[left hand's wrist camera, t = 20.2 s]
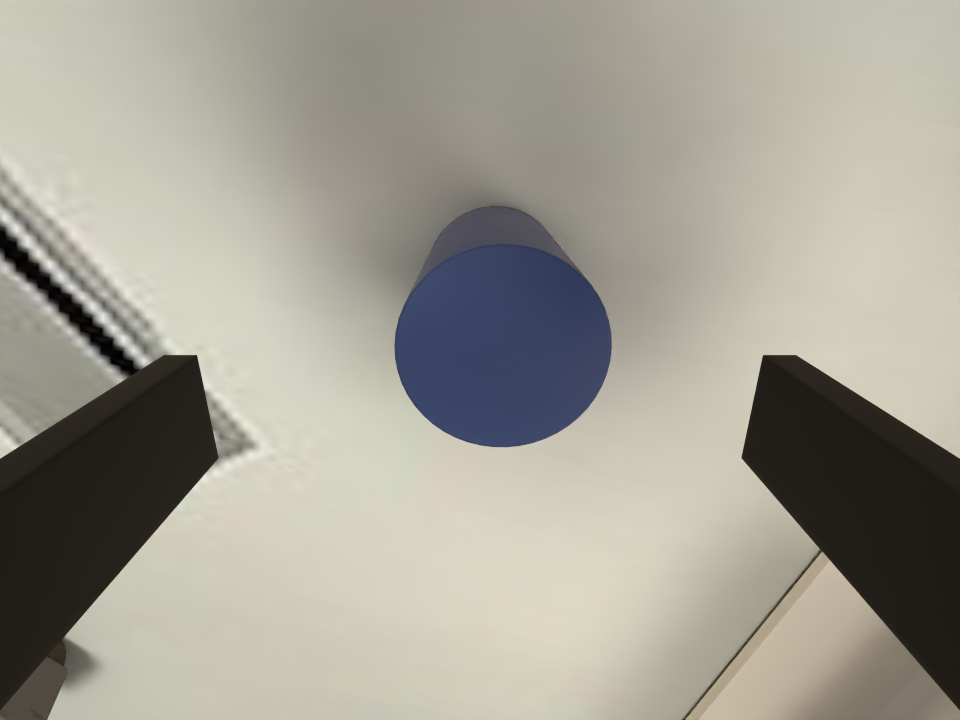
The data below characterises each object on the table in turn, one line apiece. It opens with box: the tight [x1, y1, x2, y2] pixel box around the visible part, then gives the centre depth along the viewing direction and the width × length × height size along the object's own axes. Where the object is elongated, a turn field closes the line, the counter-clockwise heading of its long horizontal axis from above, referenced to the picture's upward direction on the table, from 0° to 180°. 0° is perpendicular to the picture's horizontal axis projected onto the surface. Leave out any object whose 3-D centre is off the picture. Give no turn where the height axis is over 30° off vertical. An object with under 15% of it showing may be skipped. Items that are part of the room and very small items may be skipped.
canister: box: [395, 206, 612, 447], centre depth 22 cm, size 7×7×12 cm
